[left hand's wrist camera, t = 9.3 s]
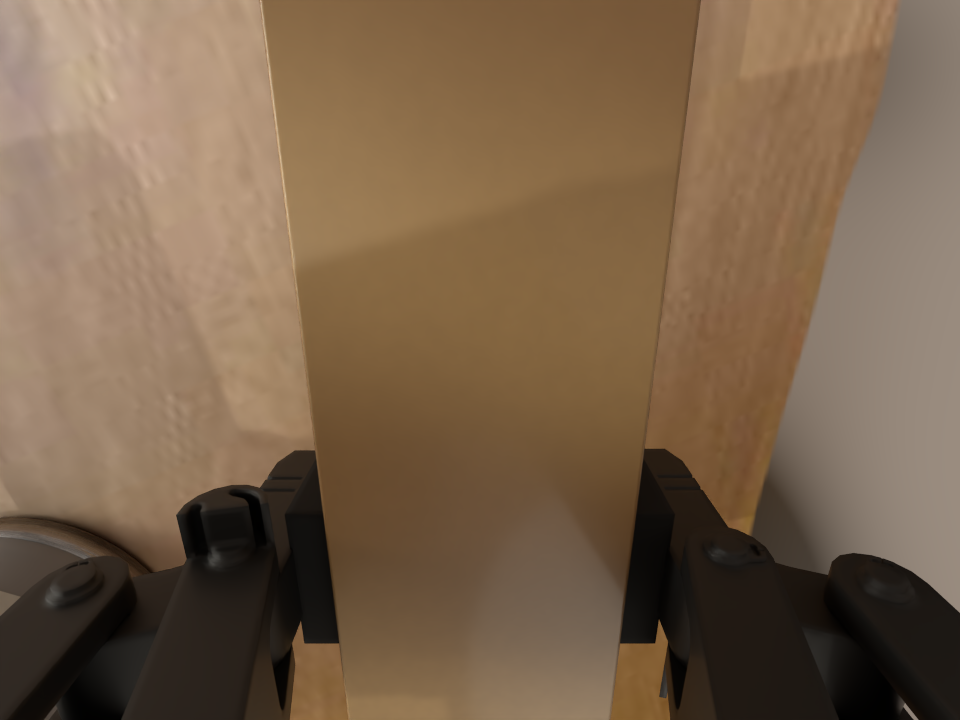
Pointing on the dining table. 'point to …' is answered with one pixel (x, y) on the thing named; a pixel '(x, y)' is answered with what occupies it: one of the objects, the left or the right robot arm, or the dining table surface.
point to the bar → (479, 329)
